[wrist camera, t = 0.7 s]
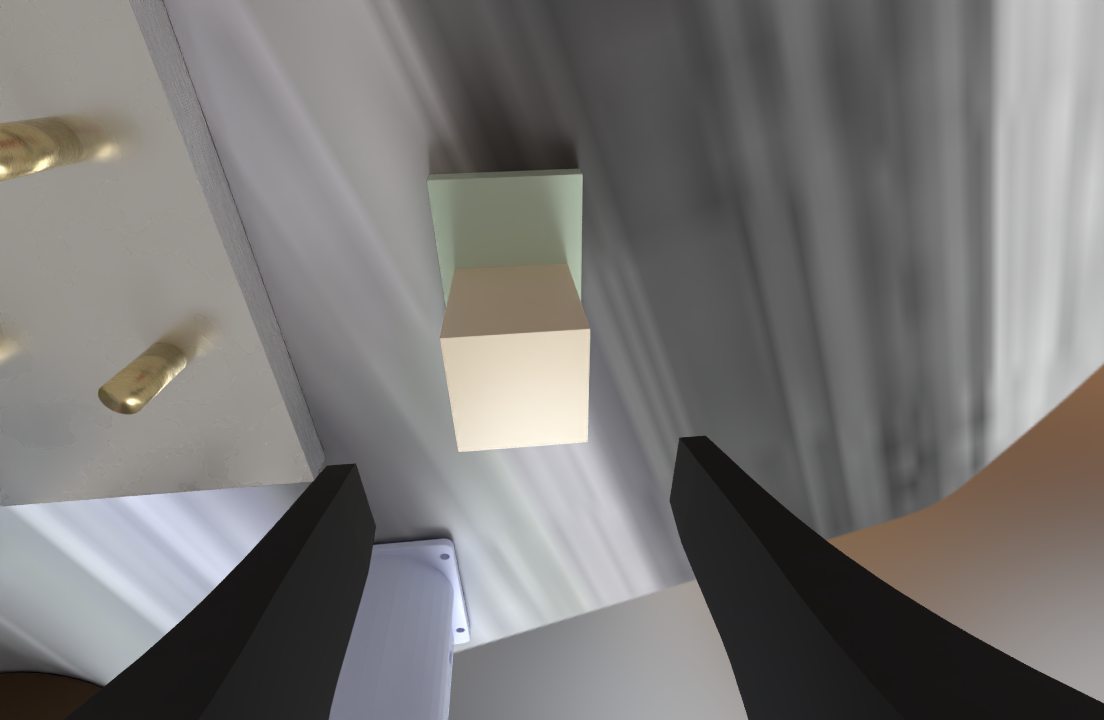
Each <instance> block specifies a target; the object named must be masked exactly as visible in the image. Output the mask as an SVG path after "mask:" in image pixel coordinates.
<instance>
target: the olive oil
mask: <svg viewBox="0 0 1104 720" xmlns="http://www.w3.org/2000/svg"><path fill="white" fill-rule="evenodd" d="M101 689H102V688H100V687H98V686H95V685H93V684H90V683H87V682H84V681H80V680H76V679H72V678H68V677H63V676H57V675H50V674H41V673H3V674H0V720H63V719H65V718H66V717H67V716H69V715H70V714H71V713H72V712H74V711H75V710H76V709H78V708H79V707H80V706H81V705H82V704H84V703H85V702H86V701H87V700H89V699H90V698H91V697H92V696H93V695H95V694H96V693H97V692H98V691H100V690H101Z"/></svg>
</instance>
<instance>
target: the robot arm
mask: <svg viewBox="0 0 1104 720" xmlns="http://www.w3.org/2000/svg"><path fill="white" fill-rule="evenodd" d="M670 504H671V508H672V511H673V515H674V519H675V522H676V526H677V529H678V533H679V536H680V539H681V543H682V545H683V548H684V550H685V553H686V555H687V558H688V560H689V562H690V565H691V567H692V570H693V572H694V574H695V577H696V579H697V582H698V584H699V586H700V588H701V591H702V593H703V596H704V598H705V601H706V603H707V605H708V608H709V610H710V613H711V615H712V617H713V620H714V622H715V624H716V627H717V629H718V632H719V634H720V636H721V639H722V641H723V644H724V647H725V649H726V652H727V655H728V657H729V660H730V663H731V666H732V669H733V672H734V675H735V678H736V682H737V685H738V688H739V691H740V694H741V697H742V700H743V703H744V707H745V710H746V713H747V716H748V720H1104V703H1102V702H1100V701H1098V700H1096V699H1094V698H1092V697H1090V696H1088V695H1086V694H1084V693H1082V692H1080V691H1078V690H1076V689H1074V688H1072V687H1069V686H1068V685H1066V684H1063V683H1061V682H1060V681H1058V680H1055V679H1053V678H1051V677H1049V676H1047V675H1045V674H1043V673H1041V672H1039V671H1037V670H1035V669H1033V668H1031V667H1030V666H1028V665H1026V664H1024V663H1022V662H1020V661H1018V660H1016V659H1015V658H1013V657H1011V656H1009V655H1007V654H1005V653H1004V652H1002V651H1000V650H998V649H996V648H994V647H993V646H991V645H989V644H987V643H985V642H983V641H982V640H980V639H978V638H976V637H974V636H973V635H971V634H969V633H967V632H966V631H963V630H962V629H960V628H959V627H957V626H955V625H953V624H952V623H950V622H948V621H947V620H945V619H943V618H941V617H940V616H938V615H937V614H935V613H933V612H931V611H930V610H928V609H927V608H925V607H924V606H922V605H920V604H919V603H917V602H916V601H914V600H912V599H911V598H909V597H907V596H906V595H904V594H902V593H901V592H899V591H898V590H896V589H894V588H893V587H892V586H890V585H889V584H887V583H886V582H884V581H883V580H881V579H880V578H878V577H876V576H875V575H874V574H872V573H871V572H869V571H868V570H867V569H865V568H864V567H862V566H861V565H859V564H858V563H856V562H855V561H854V560H852V559H850V558H849V557H848V556H846V555H845V554H844V553H842V552H841V551H839V550H838V549H837V548H835V547H834V546H833V545H831V544H830V543H829V542H827V541H826V540H825V539H824V538H822V537H821V536H820V535H818V534H817V533H816V532H815V531H813V530H812V529H811V528H810V527H808V526H807V525H806V524H805V523H803V522H802V521H801V520H799V519H798V518H797V517H796V516H795V515H793V514H792V513H791V512H790V511H789V510H787V509H786V508H785V507H784V506H783V505H781V504H780V503H779V502H778V501H777V500H776V499H775V498H773V497H772V496H771V495H770V494H769V493H768V492H766V491H765V490H764V489H763V488H762V487H761V486H760V485H759V484H757V483H756V482H755V481H754V480H753V479H752V478H751V477H750V476H749V475H748V474H746V473H745V472H744V471H743V470H742V469H741V468H740V467H739V466H738V465H737V464H736V463H735V462H733V461H732V460H731V459H730V458H729V457H728V456H727V455H726V454H725V453H724V452H723V451H722V450H721V449H719V448H718V447H717V446H716V445H715V444H714V443H713V442H712V441H711V440H710V439H709V438H708V437H706V436H696V437H683V438H679V444H678V450H677V457H676V463H675V469H674V476H673V482H672V489H671V495H670ZM375 529H376V526H375V523H374V519H373V516H372V513H371V510H370V507H369V504H368V501H367V497H366V494H365V491H364V488H363V485H362V482H361V479H360V475H359V472H358V469H357V466H356V464H343V465H331V466H326V468H325V469H324V470H323V471H322V472H321V473H320V474H319V475H318V476H317V477H316V479H315V480H314V481H313V482H312V483H311V484H310V485H309V487H308V488H307V489H306V490H305V491H304V492H303V493H302V495H301V496H300V497H299V498H298V499H297V500H296V502H295V503H294V504H293V505H292V506H291V507H290V508H289V510H288V511H287V512H286V513H285V514H284V515H283V516H282V518H281V519H280V520H279V521H278V522H277V523H276V524H275V525H274V526H273V528H272V529H271V530H270V531H269V532H268V533H267V534H266V535H265V536H264V537H263V539H262V540H261V541H260V542H259V543H258V544H257V545H256V546H255V547H254V548H253V550H252V551H251V552H250V553H249V554H248V555H247V556H246V557H245V558H244V559H243V560H242V561H241V562H240V563H239V564H238V565H237V566H236V567H235V568H234V569H233V570H232V571H231V572H230V573H229V574H228V575H227V577H226V578H225V579H224V580H223V581H222V582H221V583H220V584H219V585H218V586H217V587H216V588H215V589H214V590H213V591H212V592H211V593H210V594H209V595H208V596H207V597H206V598H205V599H204V600H203V601H202V602H201V603H200V604H199V605H197V606H196V607H195V608H194V609H193V610H192V611H191V612H190V613H189V614H188V615H187V616H186V617H185V618H184V619H183V620H182V621H180V622H179V623H178V624H177V625H176V626H175V627H174V628H173V629H172V630H170V631H169V632H168V633H167V634H166V635H165V636H164V637H163V638H161V639H160V640H159V641H158V642H157V643H156V644H155V645H154V646H153V647H151V648H150V649H149V650H148V651H147V652H146V653H144V654H143V655H142V656H141V657H140V658H139V659H137V660H136V661H135V662H134V663H133V664H131V665H130V666H129V667H128V668H126V669H125V670H124V671H123V672H122V673H120V674H119V675H118V676H117V677H115V678H114V679H113V680H112V681H111V682H109V683H108V684H107V685H106V686H104V687H103V688H102V689H101V690H100V691H98V692H97V693H96V694H95V695H93V696H92V697H91V698H90V699H89V700H87V701H86V702H85V703H84V704H82V705H81V706H80V707H79V708H78V709H76V710H75V711H74V712H72V713H71V714H70V715H69V716H67V717H66V718H65V719H63V720H448V714H449V701H450V688H451V675H452V662H453V649H454V644H460V643H466V642H468V641H469V640H470V636H471V632H470V627H469V621H468V616H467V611H466V606H465V601H464V596H463V590H462V585H461V580H460V575H459V570H458V565H457V559H456V554H455V549H454V544H453V542H452V541H451V540H449V539H434V540H422V541H411V542H400V543H389V544H378V545H373V542H374V536H375Z"/></svg>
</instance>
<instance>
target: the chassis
mask: <svg viewBox="0 0 1104 720" xmlns="http://www.w3.org/2000/svg"><path fill="white" fill-rule="evenodd" d="M324 459H325V455H324V452H323V449H322V446H321V444H320V441H319V438H318V435H317V432H316V430H315V427H314V424H313V421H312V418H311V416H310V413H309V410H308V407H307V404H306V402H305V399H304V396H303V393H302V390H301V388H300V385H299V382H298V379H297V376H296V374H295V371H294V368H293V365H292V362H291V360H290V357H289V354H288V351H287V348H286V346H285V343H284V340H283V337H282V334H281V332H280V329H279V326H278V323H277V320H276V318H275V315H274V312H273V309H272V306H271V304H270V301H269V298H268V295H267V292H266V290H265V287H264V284H263V281H262V278H261V276H260V273H259V270H258V267H257V264H256V262H255V259H254V256H253V253H252V250H251V248H250V245H249V242H248V239H247V236H246V234H245V231H244V228H243V225H242V222H241V219H240V217H239V214H238V211H237V208H236V205H235V203H234V200H233V197H232V194H231V191H230V189H229V186H228V183H227V180H226V177H225V175H224V172H223V169H222V166H221V163H220V161H219V158H218V155H217V152H216V149H215V147H214V144H213V141H212V138H211V135H210V133H209V130H208V127H207V124H206V121H205V119H204V116H203V113H202V110H201V107H200V105H199V102H198V99H197V96H196V93H195V91H194V88H193V85H192V82H191V79H190V77H189V74H188V71H187V68H186V65H185V63H184V60H183V57H182V54H181V51H180V49H179V46H178V43H177V40H176V37H175V35H174V32H173V29H172V26H171V23H170V21H169V18H168V15H167V12H166V9H165V7H164V4H163V1H162V0H0V506H12V505H25V504H37V503H50V502H62V501H75V500H87V499H100V498H112V497H125V496H137V495H150V494H162V493H175V492H187V491H200V490H212V489H225V488H237V487H250V486H262V485H275V484H287V483H300V482H312V481H314V480H315V479H316V477H317V475H318V473H319V470H320V468H321V466H322V463H323V461H324Z"/></svg>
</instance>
